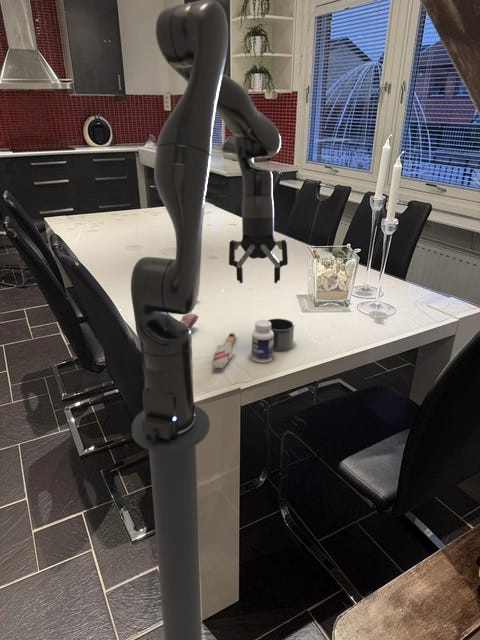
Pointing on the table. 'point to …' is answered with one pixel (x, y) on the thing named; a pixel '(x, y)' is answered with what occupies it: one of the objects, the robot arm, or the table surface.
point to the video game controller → (189, 320)
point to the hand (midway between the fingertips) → (258, 282)
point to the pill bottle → (262, 341)
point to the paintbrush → (223, 352)
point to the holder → (282, 334)
